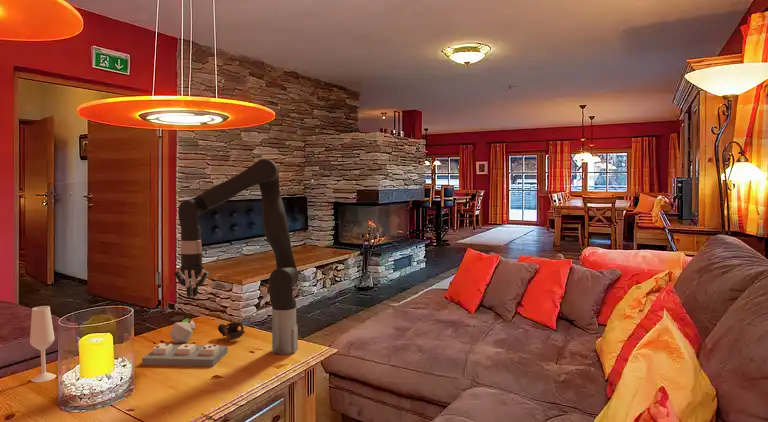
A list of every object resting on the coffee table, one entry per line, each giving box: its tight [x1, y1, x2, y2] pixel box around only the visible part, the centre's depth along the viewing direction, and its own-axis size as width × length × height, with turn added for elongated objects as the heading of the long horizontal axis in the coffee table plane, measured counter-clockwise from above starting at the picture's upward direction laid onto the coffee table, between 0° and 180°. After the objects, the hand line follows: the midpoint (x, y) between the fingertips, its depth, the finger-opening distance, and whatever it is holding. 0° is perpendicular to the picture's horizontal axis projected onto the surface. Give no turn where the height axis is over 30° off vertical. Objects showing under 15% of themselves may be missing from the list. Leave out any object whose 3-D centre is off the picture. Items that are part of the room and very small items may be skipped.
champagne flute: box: [29, 305, 57, 383], centre depth 159 cm, size 7×7×24 cm
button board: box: [141, 344, 229, 367], centre depth 178 cm, size 26×14×2 cm, turn 88°
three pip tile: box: [200, 344, 220, 355], centre depth 178 cm, size 5×5×3 cm
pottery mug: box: [217, 321, 246, 343], centre depth 200 cm, size 12×10×8 cm
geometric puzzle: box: [181, 317, 197, 332], centre depth 207 cm, size 7×7×8 cm
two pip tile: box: [152, 343, 174, 354], centre depth 178 cm, size 5×5×3 cm
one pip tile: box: [177, 343, 197, 355], centre depth 178 cm, size 5×5×3 cm
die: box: [169, 321, 194, 344], centre depth 196 cm, size 8×9×10 cm
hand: (192, 296), depth 183 cm, fingers closed
